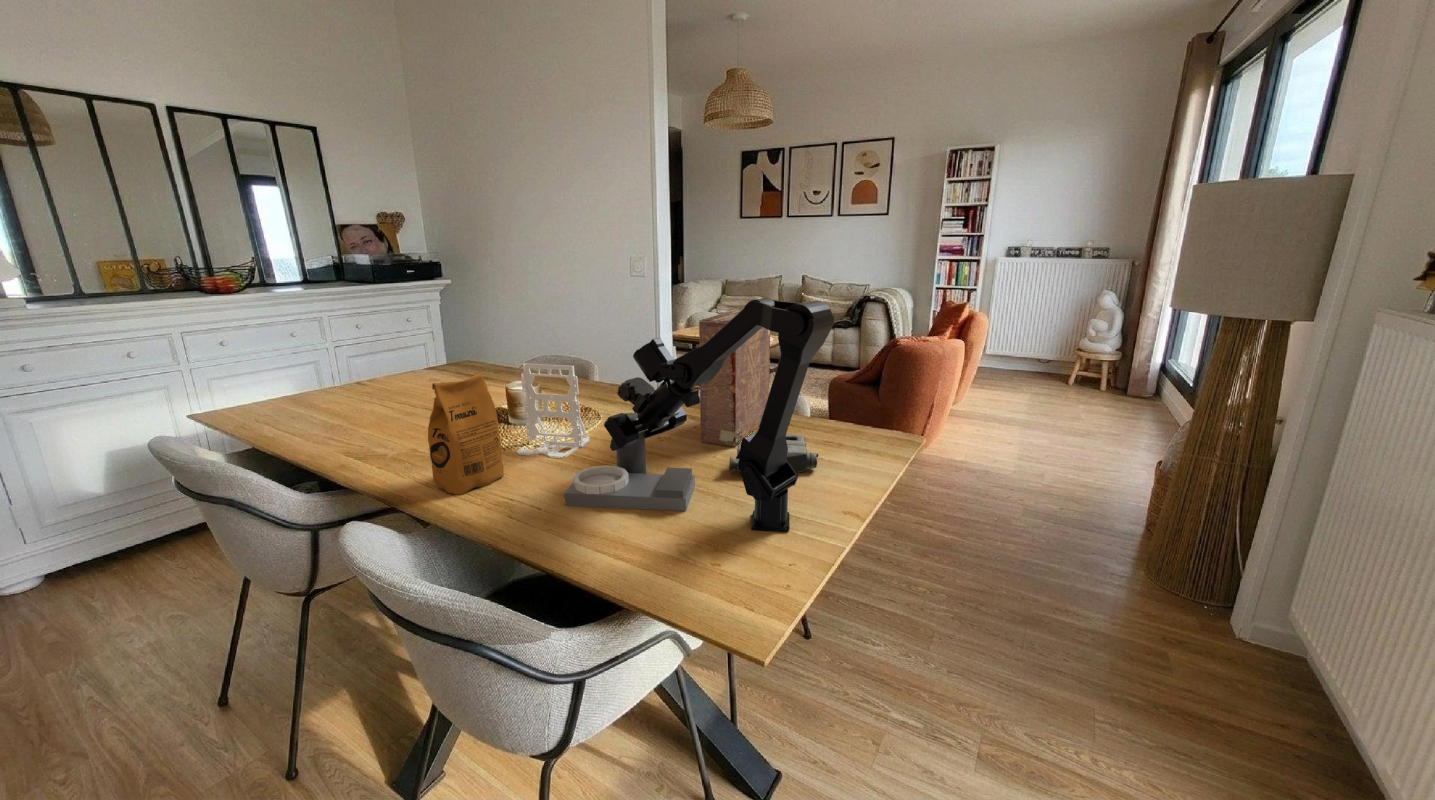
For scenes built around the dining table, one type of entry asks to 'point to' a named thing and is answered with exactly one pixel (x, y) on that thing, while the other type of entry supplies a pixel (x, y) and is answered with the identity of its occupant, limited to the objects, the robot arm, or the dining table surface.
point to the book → (734, 386)
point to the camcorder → (790, 454)
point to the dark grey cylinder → (633, 453)
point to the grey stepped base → (631, 489)
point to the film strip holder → (552, 412)
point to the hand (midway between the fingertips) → (628, 442)
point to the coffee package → (464, 436)
